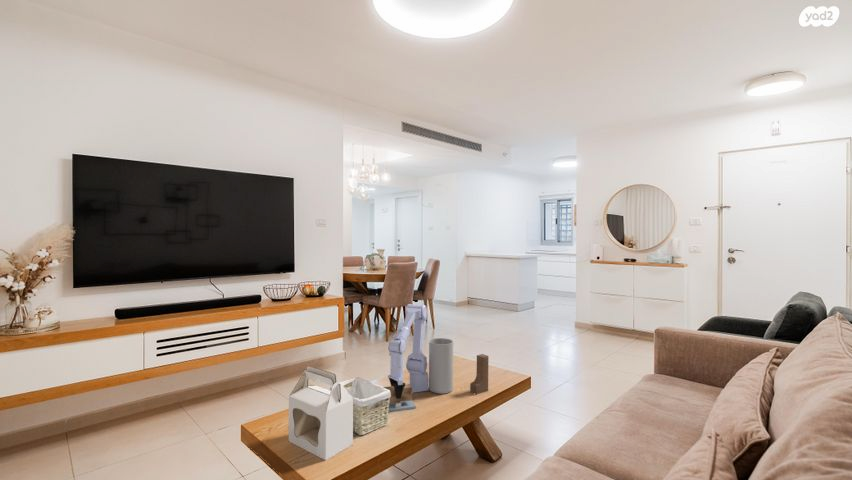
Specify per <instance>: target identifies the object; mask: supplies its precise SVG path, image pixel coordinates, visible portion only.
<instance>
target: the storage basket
mask: <svg viewBox="0 0 852 480" xmlns="http://www.w3.org/2000/svg"><path fill="white" fill-rule="evenodd" d="M339 382H340V383H341V384H342V385H343V387H344V388H345V389H347V388H349V389H348V390H346V391H347V392H348V393H349V395H350V396H351V397H352V399H353V433H356V434H357V435H359V436H363V435H366V434H369V433H372V432H374V430H375V431H377V430H378V429H380V428H382V427H384V426H386V425H387V424H388V418H389V412H388V410H389V402H390V397H391V394H390V390H388V389H386V388H383V387H384V386H381V385H379V384H376V383H373V382H371V381H369V380H367V379H364V378H361V377H354V378H350V379H346V380H343V381H339ZM331 389H332V386H331V385H329V389H328V390H330V391H331ZM339 403H340V402H339Z"/></svg>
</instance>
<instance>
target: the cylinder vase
mask: <svg viewBox="0 0 852 480" xmlns="http://www.w3.org/2000/svg"><path fill="white" fill-rule="evenodd" d="M428 389H429V391H430V392H432V393H434V394H441V395H444V394H449V393H451V392H452V391H453V390H454V340H453V339H450V338H444V337H443V338H441V337H440V338H432V339H429V340H428Z"/></svg>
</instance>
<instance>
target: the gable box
mask: <svg viewBox="0 0 852 480" xmlns="http://www.w3.org/2000/svg"><path fill="white" fill-rule="evenodd" d="M303 370H304V371H303V372H302V375H301V377H300V379H299V380H298V381H297V383H296V384H295V386H294V388H293V390H291V392H290V394H289V396H288V442H289V443H291V444H293V445H295V446H297V447H299V448H301V449H303V450H305V451H307V452H309V453H310V454H313V455H314V456H316V457H318V458H320V459H322V460H324V461H327V460H329V459H330V458H332V457H334V456H336V455H337V454H339V453H341V452H342V451H344V450H346V449H347V448H350V447H351V446H353V445H354V431H353V399H352V397H351V396H350V395H349V393H348V392H347V391H348V390H347V388H344V387H343V385H342V384H341V383H340V382H341V381H339V382H338V381H337V376H336V374H335V373H333V372H330V371H327V370H323V369H320V368H317V367H314V366H311V365H308V366H307V368H306V369H303ZM315 381H317V382H319V383H323V384H325V385H328V386H332V389H331V391H330V390H329V389H326V388H325V387H321V386H318V385H317V384H316V383H315ZM339 402H340V403H339Z"/></svg>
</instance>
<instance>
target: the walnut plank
mask: <svg viewBox="0 0 852 480" xmlns="http://www.w3.org/2000/svg"><path fill="white" fill-rule="evenodd" d="M382 387H383V388H386V389H388V390H390V394H391V397H390V402H389V403H393V402H401V401H409V400H412V401H413V393H412V387H411V385H410V383H409V384H405V387H404V389H403V391H402V396H401V398H399V399H396V395H395V389H394V386H391V385H390V386H382Z"/></svg>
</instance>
